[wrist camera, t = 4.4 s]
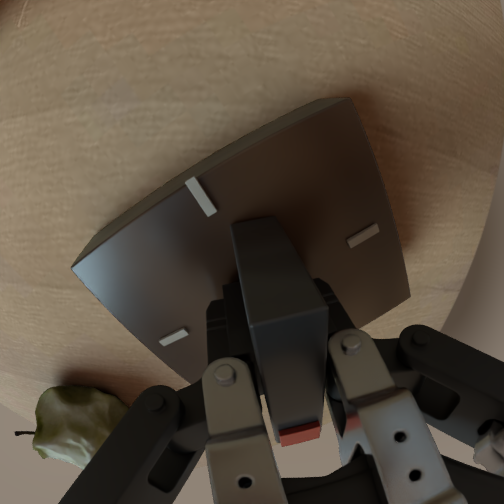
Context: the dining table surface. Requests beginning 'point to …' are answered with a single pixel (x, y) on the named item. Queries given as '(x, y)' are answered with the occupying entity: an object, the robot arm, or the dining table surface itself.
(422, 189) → the dining table surface
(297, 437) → the handle
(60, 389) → the fruit
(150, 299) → the handle panel
